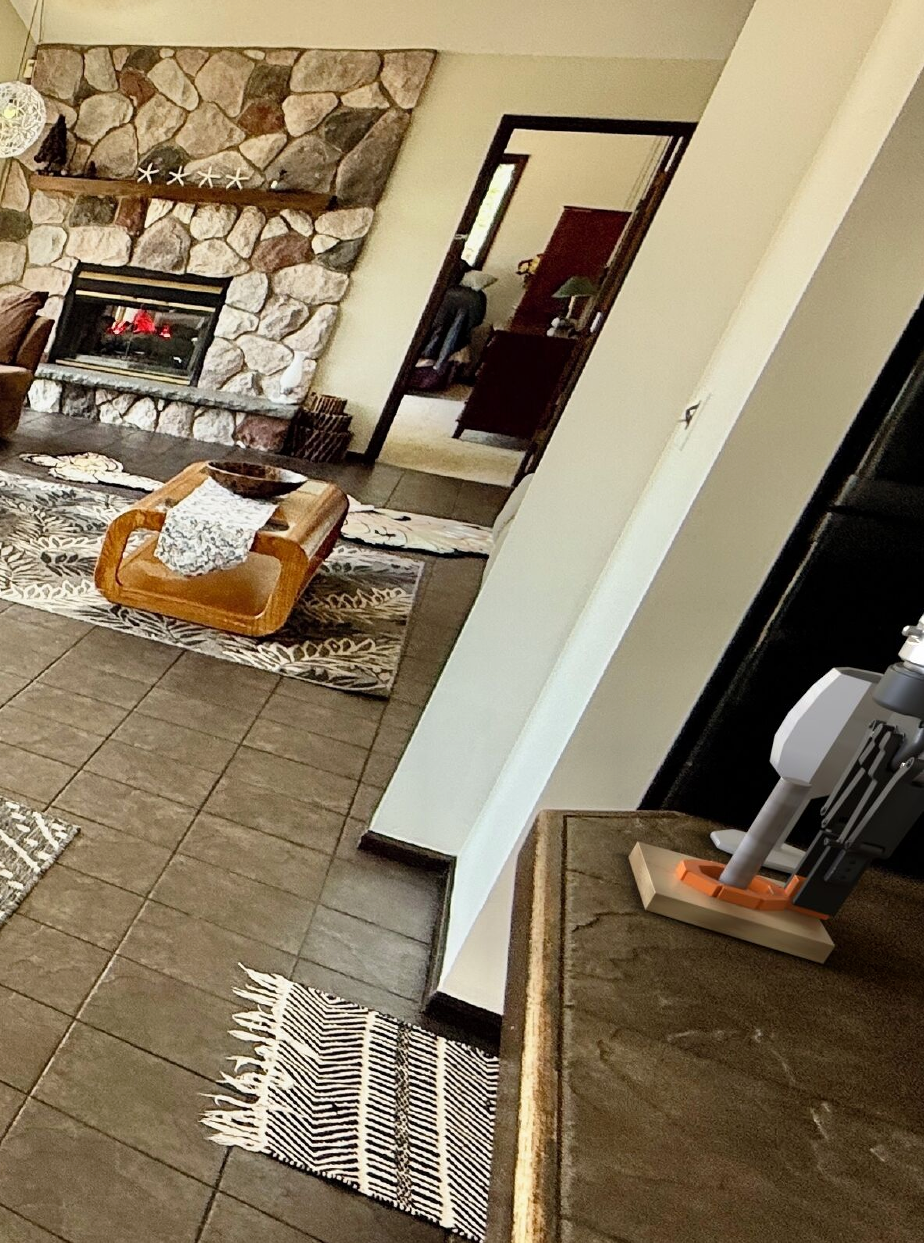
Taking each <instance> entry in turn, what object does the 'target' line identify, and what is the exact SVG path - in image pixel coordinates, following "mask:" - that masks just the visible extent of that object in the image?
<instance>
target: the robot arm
mask: <svg viewBox="0 0 924 1243" xmlns="http://www.w3.org/2000/svg"><path fill="white" fill-rule="evenodd" d="M901 634H902V636H905V637H907V639H906V641H905V643H904V644H903V645H902V647H901V649H900V651H899V652H898V653H897V655H898V656H899V657H900V658H901V660H902V661H899V662H895V663H894V664H890V665H889V666H888V667H887V669H886V670H885V672H884V675H883V677H882V679H881V680H880V682H879V683H878V685H877V686H876V688H875V690H874V691H873V693H872V695H871V698H872V700H873V701H874V702H875V703H876V704H878V705H879V706H881V707H883V708H885V709H888V710H890V711H893V712H894V713H893V714H892V715H891V717H890V718H889V719H888V721H887V722H886V721H881V720H877V719H874V720H872V721H871V722H870V723H869V724H868V729H867V731H866V733H865V736H864V738H863V740H862V743H861V744H860V746H859V748H858V749H857V751H856V753H855V754H854V756H853V758H852V759H851V761H850V763H849V765H848V766H847V768H846V770H845V771H844V773H843V775H842V776H841V778H840V780H839V781H838V783H837V785H836V787H835V788H834V790H833V792H832V793H831V795H829V797H828V798H827V800H826V802H825V803H824V805H823V806H822V807H821V809H820V816H823V817H825V818H823V819H822V821H821V829H820V830H819V831H818V833H817V834H816V835H815V838H814V839H813V841H812V842H811V844H810V845H809V847H808V848H807V850H806V851H805V852H806V853H805V855H804V856H803V858H802V859H801V861H800V863H799V864H798V866H797V867H796V869H795V870H794V872H793V873H792V874H790V876H789V878H788V879H787V881H786V882H785V883H786V884H785V886H784V887H783V888H784V889H785V890H786V888H787V887H788V885H789V884H790V882H791V881H792V879H793V877H794V876H795V875H797V876H801V877H805V878H806V880H805V881H804V883H803V884H802V886H801V888H800V889H799V891H798V892H797V894H796V895H795V897H794V898H793V900H792V901H791V903H792V904H793V905H794V906H798V907H801V908H805V909H808V910H812V911H815V912H819V913H822V914H826V915H829V917H833V918H835V917H836V915H837V914H838V913H839V910H840V909H841V907H842V906H843V905H844V904H845V902H846V900H847V899H848V897H849V895H850V894H851V893H852V891H853V890H854V889H855V887H856V886H857V884H858V882H859V881H860V880H861V878H862V877H863V875H864V874H865V872H866V870H867V869H868V868H869V866H870V865H871V863H872V862H873V860H874V859H877V858H878V859H881V860H887V859H889V858H890V857H891V856H892V855H893V853H894V851H895V850H896V849H897V847H898V846H899V844H900V843H901V842H902V841H903V839H904V838H905V836H906V835H907V834H908V832H910V830H911V829H912V827H913V825H914V824H915V823H916V822H917V821H918V819H919V817H920V816H921V815H922V814H923V812H924V612H923V613H922V616H921V617H920V619H919V620H918V623H917V625H906V626H905V627H903V629H902V631H901ZM823 829H825V830H823Z"/></svg>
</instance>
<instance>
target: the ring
mask: <svg viewBox="0 0 924 1243" xmlns="http://www.w3.org/2000/svg"><path fill="white" fill-rule="evenodd" d="M726 866H727V864H725V863H721V862H717V861H714V860H708V859H702V860H697V859H683V860H682V861H681V863H680V864H679V866H678V868H677V869H676V871H677V873H678V876H679V878H680V880H683V882H684V883H686V884H688V885H690V886H692V887H694V888H696V889H698V890H700V891H702V892H704V893H706V894H708V895H709V896H716V897H717V899H720V900H724V901H727V902H731V903H734V904H737V905H741V906H744V907H748V908H751V909H755V908H756V909H758V910H764V911H783V910H784V909H785V908H786V909H789V910H793V911H796V912H800V913H803V914H807V915H810V916H813V917H817V918H819V919H820V920H824V921H827V920H828V919H829V917H830V916H829V915H826V914H822V913H819V912H815V911H812V910H808V909H805V908H801V907H798V906H794V905H793V904H792V903H791V901H792V900H793V898H794V897H795V895H796V894H797V892H798V891H799V889H800V888H801V886H802V884H803V883H804V881H805V880H806V878H805V877H801V876H797V875H795V876H794V877H793V879H792V881H791V882H790V884H789V885H788V887H787V888H786V890H785V889H783V888H782V887H781V886H779V885H777V884H775V883H773V882H771V881H769V880H767V879H764V878H762V877H760V876H761V875H759V874H756V876H755V877H754V879H753V880H752V882H751V884H750V885H749V887H748V889H750V890H752V891H754V892H756V893H752V892H748V891H745V890H741V889H738V888H734V887H731V886H727V885H725V884H723V883H721V882H719V881H717V880H715V879H713V878H710V877H708V876H712V877H716V878H719V877H720V876H721V874H722V873H723V871H724V869H725V868H726ZM758 875H759V876H758Z"/></svg>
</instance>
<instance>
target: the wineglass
mask: <svg viewBox="0 0 924 1243" xmlns="http://www.w3.org/2000/svg"><path fill="white" fill-rule="evenodd" d="M884 674H885V673H884ZM884 674H883V673H880V672H875V671H870V670H865V669H860V668H854V667H849V666H845V667H843V666H841V667H833V668H831V669H830V670H829V671H828V672H826V673H825V675H823V677H821V678H820V679H818V680H817V681H816V682H815V683H814V684H813V685H812V686H811V687H810V688H809V689H808V690H807V691H806V693H805V694H803V696H802V697H801V698H800V699H799V700H798V701H797V702H796V704H795V705H794V706H793V708H791V709H790V711H788V712H787V715H786V716H785V718H784V720H783V721H782V723H781V725H780V726H779V728H778V729H777V731H776V733H775V734H774V738H773V744H772V748H771V753H770V758H769V763H770V764H771V765H772V767H773V768H774V769H775V771H776V772H777V774H778V775H779V777H780V778H781V777H791V778H796V779H799V780H802V781H805V782H807V783H809V784H811V785H812V787H811V788H810V790H809V792H808V793H807V795H806V796H805V798H804V800H803V801H802V803H801V804H800V806H799V807H798V809H797V811H796V812H795V814H794V815H793V817H792V819H791V820H790V822H789V823H788V825H787V827H786V828H785V830H784V831H783V833H782V834H781V836H780V838H779V839H778V841H777V842H776V844H775V846H774V847H773V849H772V850H771V852H770V854H769V855H768V857H767V858H766V860H765V861H764V863H763V865H762V866H761V867H765V868H769V869H773V870H777V871H779V872H783V873H788V874H790V875H792V873H793V872H794V870H795V869H796V867H797V866H798V864H799V863H800V861H801V859H802V858H803V856H804V855H805V853H806V852H807V851H804V850H802V849H799V848H796V847H793V846H792V845H789V844H787V843H785V842H786V840H787V838H788V837H789V835H790V834H791V832H792V830H793V828H794V827H795V826H796V824H797V822H798V821H799V819H800V818H801V816H802V814H803V813H804V811H805V810H806V808H807V806H808V805H809V803H810V802H811V800H814V799H819V798H824V797H828V796H829V797H830V795H831V793H832V792H833V790H834V788H835V787H836V785H837V783H838V781H839V780H840V778H841V776H842V775H843V773H844V771H845V770H846V768H847V766H848V765H849V763H850V761H851V759H852V758H853V756H854V754H855V753H856V751H857V749H858V748H859V746H860V744H861V743H862V740H863V738H864V736H865V733H866V731H867V729H868V724H869V723H870V722H871V721H872V720H874V719H877V720H881V721H886V722H887V721H888V719H889V718H890V717H891V715H892V714H893V713H894V712H893V711H890V710H888V709H885V708H883V707H881V706H879V705H878V704H876V703H875V702H874V701H873V700H872V698H871V695H872V693H873V691H874V690H875V688H876V686H877V685H878V683H879V682H880V680H881V679H882V677H883V675H884ZM746 834H747V832H745V831H743V830H738V829H733V828H732V829H723V830H722V829H721V830H714V831H712V832H711V833H710V838H711V840H712V842H713V843H714V845H715V847H716V848H717V849H719V850H721V851H724V852H725V853H729V854H731V855H732V856H733V855H734V853H735V851H736V850H737V848H738V847H739V845H740V843H741V842H742V840H743V838H744V837H745V835H746Z"/></svg>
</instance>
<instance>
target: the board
mask: <svg viewBox="0 0 924 1243" xmlns="http://www.w3.org/2000/svg"><path fill="white" fill-rule="evenodd" d="M811 787H812V785H811V784H809V783H807V782H805V781H802V780H799V779H796V778H791V777H780V779H779V780H778V782H777V783H776V785H775V786H774V788H773V789H772V792H771V793H770V795H769V796H768V798H767V800H766V801H765V803H764V804H763V806H762V807H761V809H760V811H759V812H758V813H757V815H756V818H755V819H754V821H753V822H752V824H751V826H750V827H749V828H748V831H747V832H746V833H747V834H746V835H745V837H744V838H743V840H742V842H741V843H740V845H739V847H738V848H737V850H736V851H735V853H734V855H733V854H732V856H731V858H730V860H729V861H728V863H727V864H726V865H727V866H726V868H725V869H724V871H723V873H722V874H721V876H720V877H719V878H716V877H712V876H708V877H710V878H713V879H715V880H717V881H719V882H721V883H723V884H725V885H727V886H731V887H734V888H738V889H741V890H745V891H748V892H752V893H756V892H754V891H752V890H750V889H748V887H749V885H750V884H751V882H752V880H753V879H754V877H755V876H756V875H758V876H760V877H762V878H764V879H767V880H769V881H771V882H773V883H775V884H777V885H779V886H781V887H782V888H783V887H784V886H785V884H786V883H787V882H784V881H781V880H777V879H773V878H769V877H766V876H762V875H759V874H758V873H759V871H760V869H761V868H762V867H763V866H762V865H763V863H764V861H765V860H766V858H767V857H768V855H769V854H770V852H771V850H772V849H773V847H774V846H775V844H776V842H777V841H778V839H779V838H780V836H781V834H782V833H783V831H784V830H785V828H786V827H787V825H788V823H789V822H790V820H791V819H792V817H793V815H794V814H795V812H796V811H797V809H798V807H799V806H800V804H801V803H802V801H803V800H804V798H805V796H806V795H807V793H808V792H809V790H810V788H811ZM683 859H697V860H703V859H701V858H698V857H695V856H692V855H689V854H683V853H680V852H678V851H674V850H669V849H667V848H663V847H659V846H655V845H652V844H648V843H645V842H641V841H637V842H636V844H634V847H633V848H632V850H631V852H630V854H629V856H628V861H629V863H630V867H631V870H632V873H633V876H634V878H635V883H636V885H637V889H638V891H639V892H638V893H639V894H640V898H641V902H642V904H643V907H644V910H645V911H647V912H651V913H654V914H657V915H661V916H664V917H667V918H671V919H674V920H677V921H681V922H684V923H687V924H690V925H694V926H696V927H700V928H703V929H707V930H711V931H714V932H717V933H720V934H724V935H726V936H731V937H733V938H736V939H740V940H743V941H747V942H748V943H749V942H750V943H754V944H757V945H759V946H763V947H767V948H770V949H773V950H776V951H780V952H782V953H787V954H788V955H793V956H796V957H799V958H802V959H806V960H808V961H813V962H815V963H818V964H822V965H823V964H824V963H825V962H826V961H827V959H828V957H829V956H830V954H831V953H832V952H833V950H834V948H835V947H836V945H835V944H834V941H833V940H832V938H831V936H830V935H829V933H828V931H827V930H826V928H825V926H824V925H823V923H822V921H821V919H820V918H817V917H813V916H810V915H807V914H803V913H800V912H796V911H793V910H789V909H786V908H785V909H784V910H783V911H764V910H758V909H756V908H755V909H751V908H748V907H744V906H741V905H737V904H734V903H731V902H727V901H724V900H720V899H717V897H716V896H709V895H708V894H706V893H704V892H702V891H700V890H698V889H696V888H694V887H692V886H690V885H688V884H686V883H684V882H683V880H680V878H679V876H678V873H677V871H676V869H677V868H678V866H679V864H680V863H681V861H682V860H683ZM783 889H784V888H783Z"/></svg>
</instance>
